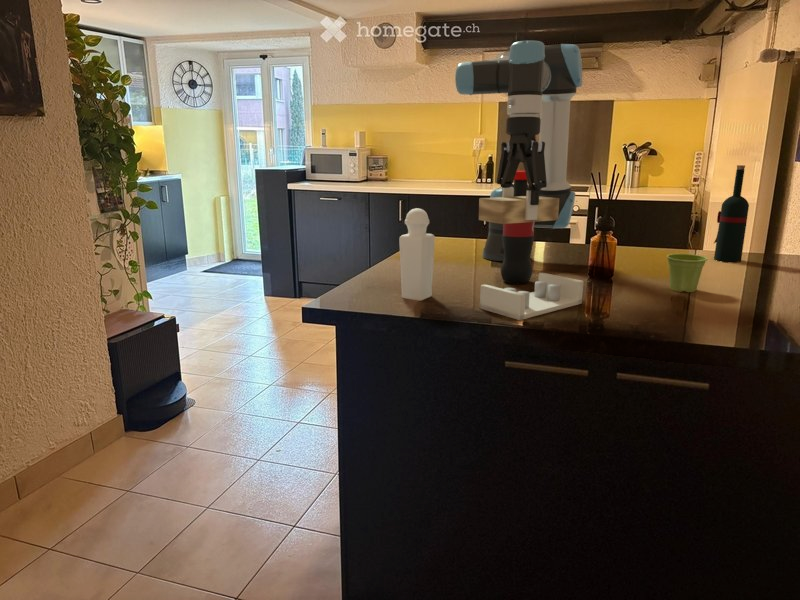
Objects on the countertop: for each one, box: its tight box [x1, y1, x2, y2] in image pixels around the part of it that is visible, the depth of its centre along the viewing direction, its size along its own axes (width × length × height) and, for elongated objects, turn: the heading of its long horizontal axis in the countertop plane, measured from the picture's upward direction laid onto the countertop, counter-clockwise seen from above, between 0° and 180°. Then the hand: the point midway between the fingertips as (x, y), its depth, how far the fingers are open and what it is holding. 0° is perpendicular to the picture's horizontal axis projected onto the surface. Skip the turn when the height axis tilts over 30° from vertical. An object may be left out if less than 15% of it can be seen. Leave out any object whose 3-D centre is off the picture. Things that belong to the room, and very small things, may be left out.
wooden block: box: [478, 196, 559, 224], centre depth 135 cm, size 16×9×5 cm, turn 117°
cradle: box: [479, 272, 584, 321], centre depth 136 cm, size 22×12×6 cm, turn 127°
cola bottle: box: [500, 170, 535, 285], centre depth 157 cm, size 8×8×30 cm
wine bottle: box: [713, 164, 750, 264], centre depth 186 cm, size 8×10×30 cm
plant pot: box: [666, 253, 708, 293], centre depth 150 cm, size 9×9×9 cm
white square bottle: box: [398, 207, 436, 302], centre depth 142 cm, size 6×6×22 cm
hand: (518, 217), depth 136 cm, fingers closed on wooden block, 9 cm apart
